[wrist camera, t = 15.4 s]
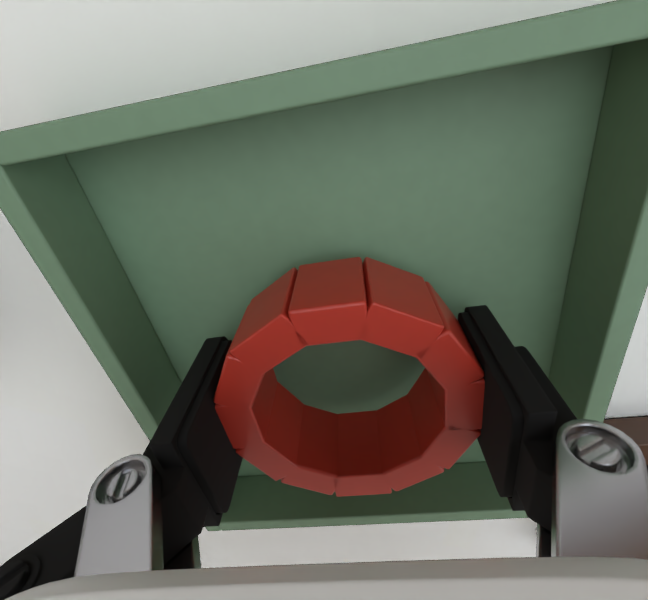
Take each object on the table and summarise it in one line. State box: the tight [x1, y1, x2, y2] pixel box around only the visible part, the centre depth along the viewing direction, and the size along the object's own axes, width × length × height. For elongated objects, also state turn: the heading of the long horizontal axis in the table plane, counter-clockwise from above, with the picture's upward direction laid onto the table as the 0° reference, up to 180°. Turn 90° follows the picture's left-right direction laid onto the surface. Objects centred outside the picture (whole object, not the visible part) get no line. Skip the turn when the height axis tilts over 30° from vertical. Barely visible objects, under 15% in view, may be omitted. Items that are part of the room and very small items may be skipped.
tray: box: [0, 0, 648, 531], centre depth 11 cm, size 14×15×2 cm
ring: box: [214, 257, 485, 497], centre depth 10 cm, size 7×7×2 cm
